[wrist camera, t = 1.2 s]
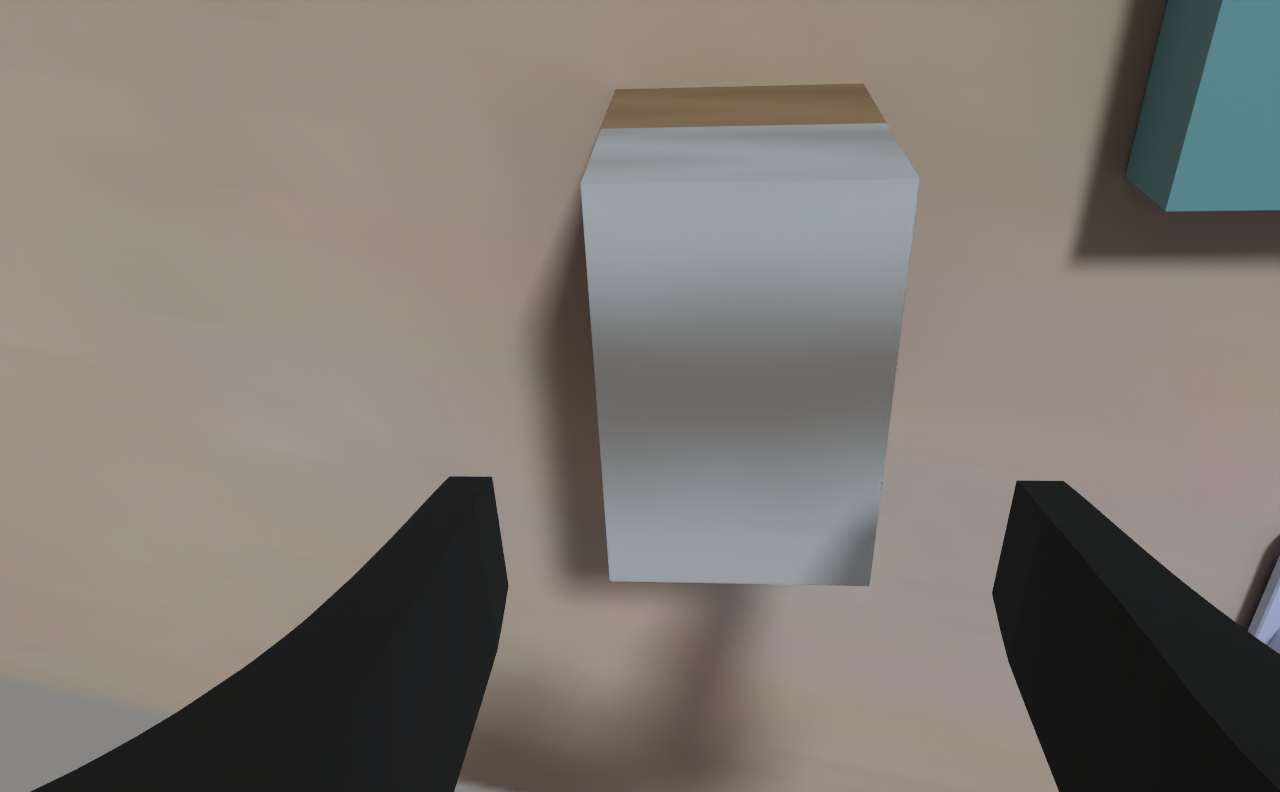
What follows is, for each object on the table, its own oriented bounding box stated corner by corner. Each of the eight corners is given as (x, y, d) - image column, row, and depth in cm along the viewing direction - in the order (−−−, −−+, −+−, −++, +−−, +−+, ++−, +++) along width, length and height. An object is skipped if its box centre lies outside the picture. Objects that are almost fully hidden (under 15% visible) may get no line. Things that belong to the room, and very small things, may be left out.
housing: (834, 416, 23) (869, 585, 18) (632, 415, 23) (609, 581, 18) (863, 82, 19) (919, 178, 13) (616, 87, 19) (580, 183, 14)
